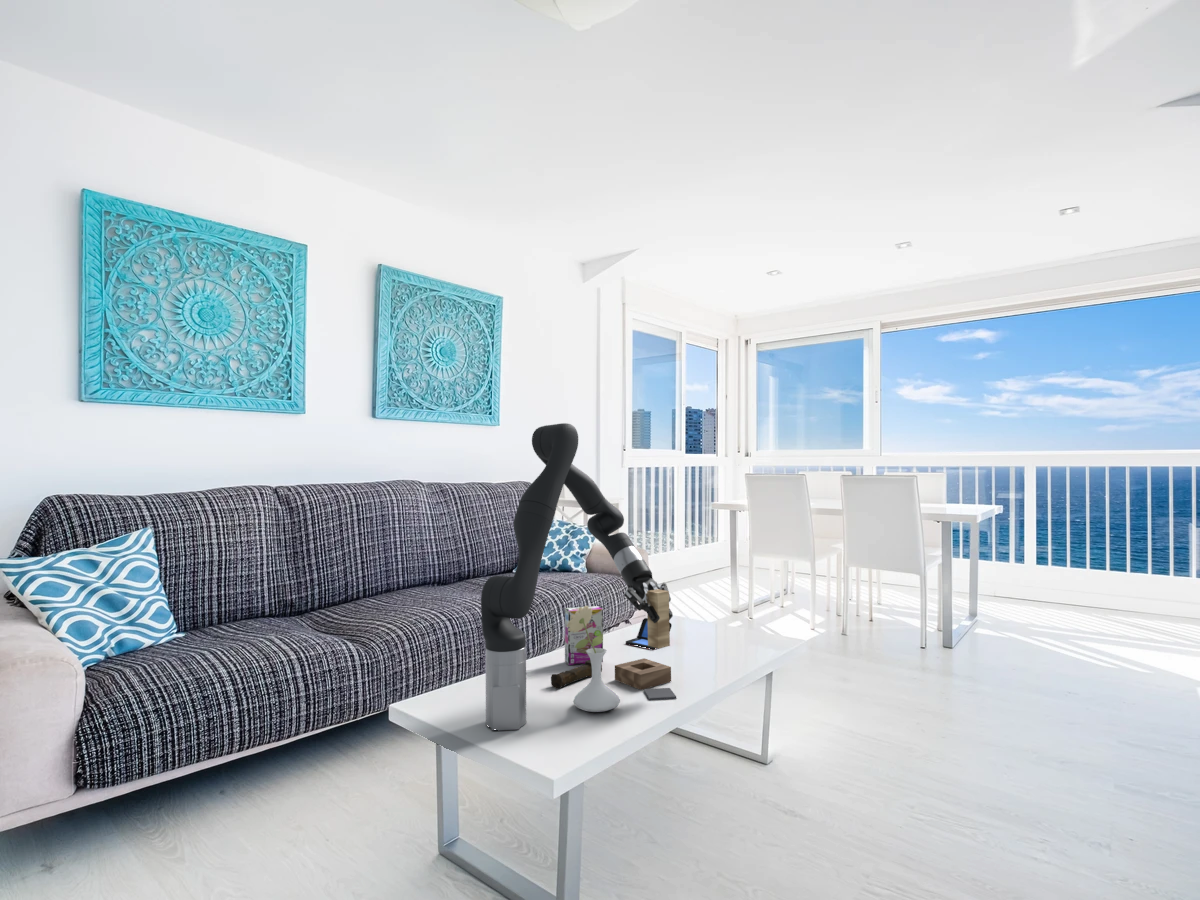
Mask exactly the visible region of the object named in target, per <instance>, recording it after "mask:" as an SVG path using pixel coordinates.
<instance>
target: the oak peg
mask: <svg viewBox="0 0 1200 900" xmlns="http://www.w3.org/2000/svg"><path fill="white" fill-rule="evenodd" d="M647 594H648V596H649V600H650V602H651V604H652V606H653V607H654V609H655V611H656V612H657V614H658V615H659V617H660V619H659V620H658V621H657V623H653V621H652V620H651V619H650V617H649V616H648V614H647V613H646V616H647V617H646V618H648V646H651V647H655V648H658V649H657V650H659V649H663V648H666V647H670V646H671V640H670V639H671V636H670V634H671V633H670V632H671V629H670V625H669V623H670V620H669V608H670V602H669V594H670V591H669V590H668V591H665V590H660V589H657V590H650V591H647ZM652 606H651V607H652Z"/></svg>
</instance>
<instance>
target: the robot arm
mask: <svg viewBox="0 0 1200 900" xmlns="http://www.w3.org/2000/svg"><path fill="white" fill-rule="evenodd" d="M531 446H532V449H533V450H534V451H533V452H534V453H535V454H536V456H537V457H538V458H539V459H540V461H541V462H542V463H543V464H545V467H544V468H543V470H542V471H541V472H540V473H539V475H538V476H537V477H536V478H535V480H534V481H533V482H531V484H530V485H529V486H528V487H527V489H526V490H525V491H524V493H523V494H522V496H521V497H520V500H519V502H518V506H517V509H516V512H515V515H514V518H513V519H514V520H513V531H514V537H515V539H516V543H517V547H518V560H517V565H516V570H515V572H514V575H513V576H506V575H494V576H490V577H489V578H488V579H487V580H486V581H485V583H484V584H483V586H482V588H481V589H482V590H481V595H480V611H481V632H482V636H483V639H484V642H485V725H486V724H487V725H488V726H489V727H491V728H492V729H491V728H490V729H491V731H492V730H494V729H496V730H498V731H512V730H520V729H521V727H523V726H525V725H526V723H527V637H526V634H525V633H524V632H523V631H522V630H521V629H519V628H518V627H517V626H516V625H515V624H514V623H513V622H512V620H511V619H515V620H518V619H519V620H520V619H523V618H525V616H527V615H528V613H529V611H530V610H531V607H532V606H533V602H534V598H535V594H536V589H537V584H538V579H539V572H540V568H541V565H542V564H541V563H542V561H543V560H542V558H543V555H544V551H545V548H546V543H547V540H548V536H549V534H550V531H551V528H552V525H553V521H554V518H555V515H556V511H557V507H558V502H559V500H560V498H561V497H560V496H561V493H562V490H563V487H564V486H565V487H566V488H567V489H568V490H569V492H570V493H571V494H572V496H573V497H574V499H575V500H576V502H577V504H578V505H579V507H580V508H581V509H582V511H583V512H584V513H585V514H586V515H588V516H591V515H592V516H591V517H590V518H589V519H588V520H587V523H586V526H587V530H588V531H589V533H590V534H591V535H592V536H593V537H594V538H595V539H596V540H598V541H599V542H600V543H601V544H602V545H603V547H604V548H605V549H606V550H607V552H608V553H609V554H610V557H611V558H612V560H613V562H614V564H615V567H616V569H617V571H618V572H619V574H620V576H621V577H622V580H623V582H624V583H625V584H626V586H627V589H626V591H625V592H624V594H623V595H624V597H625V598H626V599H627V600H628V601H629V602H630V603H631V604H632V605H633V606H634V608H635V609H637V611H639V612H640V611H644V612H646V615H647V614H648V616H649V617H650V619H651V620H652V621H653V623H657V621H658V620H659V619H660V617H659V615H658V614H657V612H656V611H655V609H654V607H653V606H652V604H651V602H650V600H649V596H648V594H647V591H650V590H657V589H660V590H665V591H669V589H668V585H667V583H665V582H662V583H660V584H659V583H657V581H656V580H655V579H654V578H653V572H652V570H651V569H650V568H649V565H648V564H647V562H646V561H645V559H644V557H643V556H642V554H641V553H640V552H639V550H638V549H637V548H636V546H635V545H634V543H633V541H632V540H631V538H630V537H629V536H628V534H627V533H625V532H616V531H618V530H619V529H620V528H622V527H623V525H624V524H625V523H624V522H625V517H624V514H623V513H622V512H621V510H620V509H618V508H617V506H615V505H613V504H612V503H611V502H610V501H608V500H607V498H605V496H604V494H603V493H602V491H601V490H600V488H599V486H598V485H597V484H596V482H595V481H594V480H593V479H592V478H591V477H590V476H589V475H588V474H586V473H585V472H583V471H582V470H581V469H579V468H578V467H577V466H575V465H574V464H573V462H574V459H575V457H576V454H577V451H578V447H579V434H578V430H577V428H576V427H575V426H574V425H573V424H571V423H568V422H567V423H566V422H563V423H554V424H548V425H547V424H546V425H542V426H539V427H537V428H536V429H535V430H534V431H533V433H532V437H531ZM614 532H616V533H614ZM613 533H614V534H613ZM671 600H672V598H671V595H670V593H669V603H670V602H671ZM651 606H652V607H651ZM672 618H673V612H672V609H670V607H669V621H670V620H671V619H672ZM489 727H488V728H489Z"/></svg>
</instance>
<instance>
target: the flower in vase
mask: <svg viewBox="0 0 1200 900" xmlns="http://www.w3.org/2000/svg"><path fill="white" fill-rule="evenodd" d="M579 607H580V608H579V610H577V611H576V613H575V615H572V616H571V620H570V621H569V622H568V625H567V627H569V629H568V631H570V632H572V631H573V633H575V632H578V631H579V630H581V629H582V628H583V627H585V630H586V633H587V636H588V640H589V641H588V640H586V639H583V640H581V641H579V642H578V643H577V644H576V646H575V648H583V647H585V646H586V645H587V643H588V642H590V644H591V646H592V647H593V648H591V649H588V650H586V652H587V654H588V655H589V657H590V660H591V665H592V677H591V679H590V682H588V684H587V685H586V686H584V687H583V688H582V689H581V690H579V692H578V693H577V694H576V695H575V696H574V699H573V701H572V702H573V704H574V705H575V707H576V708H578V709H580V710H582V711H585V712H590V713H601V712H607V711H611V710H614V709H616V708H617V707H618V706H619V704H620V703H621V699H620V697H619V695H618V694H617V693H616V691H614V690H613V689H612V688H611V687H609V686H608V685H606V683H605V682H604V680H603V679H602V672H601V664H602V663H603V662H602V659H603V660H604V657H605V655H606V653H607V649H605V648H603V649H602V648H594V646H597V645H599V644H601V643H602V642H603V643H604V632H603V633H602V634H601V635H599V636H597V637H596V638H594V639H593V640H592V643H591V641H590V639H589V635H588V632H587V629H586V625H587V623H588V622H589V620H591V615H592V608H589V607H590V606H589V605H584V606H579ZM582 607H583V609H582ZM592 644H593V645H592ZM602 665H603V664H602Z"/></svg>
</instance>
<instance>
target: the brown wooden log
mask: <svg viewBox="0 0 1200 900" xmlns="http://www.w3.org/2000/svg"><path fill="white" fill-rule="evenodd" d="M602 671H603V664H601V673H602ZM585 678H592V665H591V660H587V661H586V662H585V664H581V665H579V666H577V667H574V668H571V669H567V670H565V671H561V672H559V673H552V674H551V676H550V685H551V686H552V687H551V688H554V689H558V690H559V689H561V688H564V687H565V686H567V685H569V684H571V683H574V682H577V681H579V680H583V679H585Z"/></svg>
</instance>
